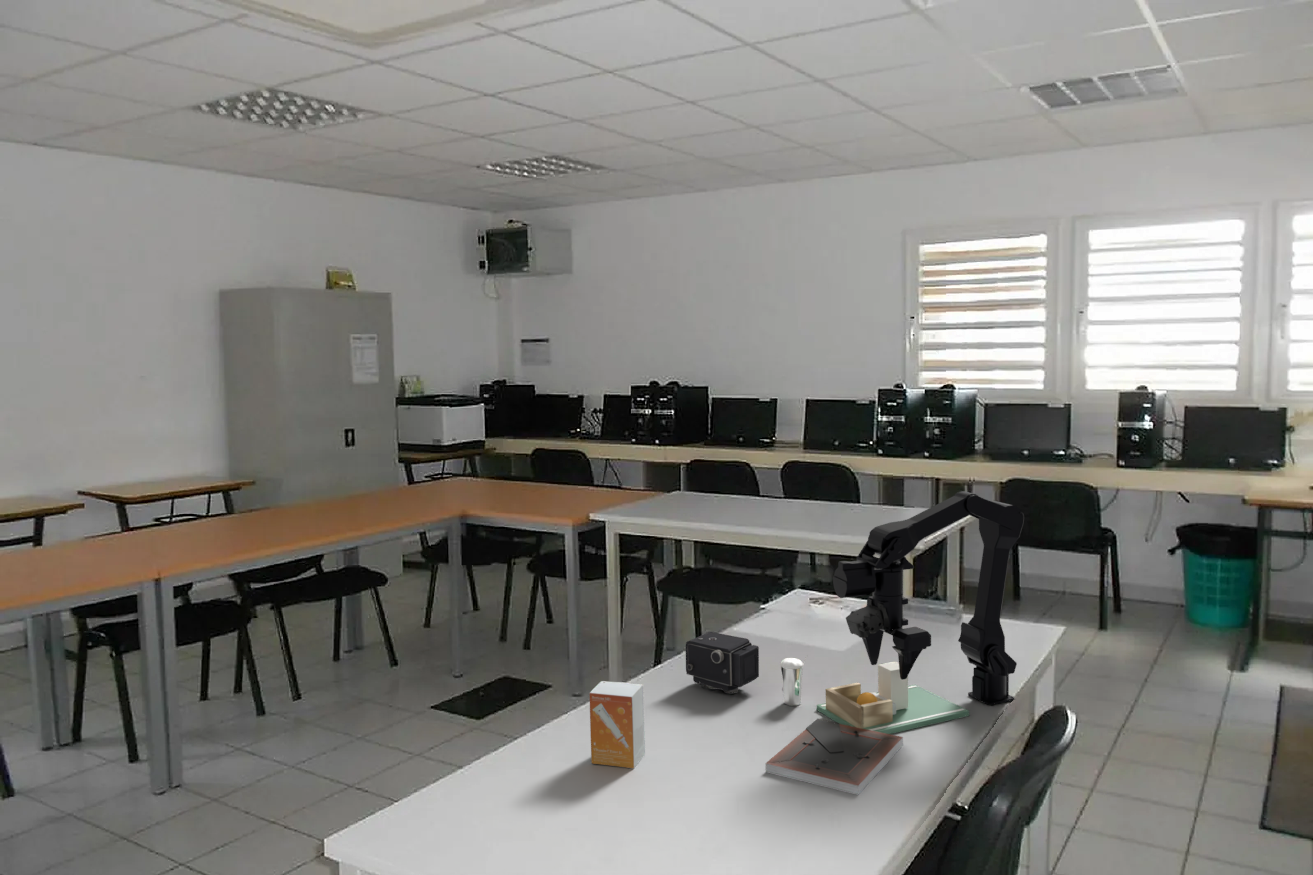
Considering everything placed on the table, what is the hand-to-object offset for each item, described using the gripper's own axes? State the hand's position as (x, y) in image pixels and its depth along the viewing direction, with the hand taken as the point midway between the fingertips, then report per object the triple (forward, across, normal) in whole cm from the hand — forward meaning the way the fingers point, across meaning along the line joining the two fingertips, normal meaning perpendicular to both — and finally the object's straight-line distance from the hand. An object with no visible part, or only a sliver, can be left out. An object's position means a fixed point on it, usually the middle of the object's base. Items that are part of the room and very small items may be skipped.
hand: (888, 671), depth 183 cm
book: (+9, +12, -20) cm, 25 cm away
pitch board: (+8, 0, +1) cm, 8 cm away
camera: (+9, -27, -22) cm, 36 cm away
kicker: (+7, 0, +1) cm, 7 cm away
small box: (+9, -5, -54) cm, 55 cm away
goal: (+7, 0, -7) cm, 10 cm away
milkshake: (+9, -13, -13) cm, 20 cm away
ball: (+5, 0, -5) cm, 7 cm away
